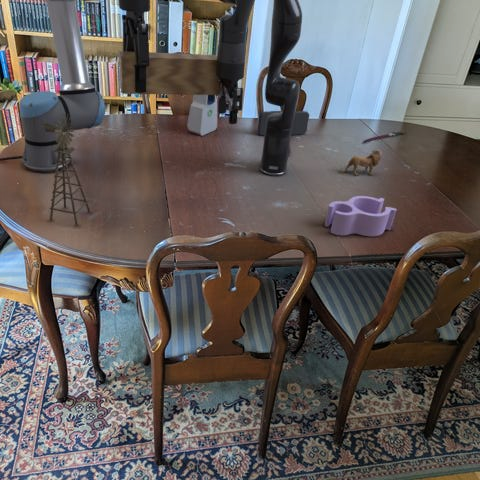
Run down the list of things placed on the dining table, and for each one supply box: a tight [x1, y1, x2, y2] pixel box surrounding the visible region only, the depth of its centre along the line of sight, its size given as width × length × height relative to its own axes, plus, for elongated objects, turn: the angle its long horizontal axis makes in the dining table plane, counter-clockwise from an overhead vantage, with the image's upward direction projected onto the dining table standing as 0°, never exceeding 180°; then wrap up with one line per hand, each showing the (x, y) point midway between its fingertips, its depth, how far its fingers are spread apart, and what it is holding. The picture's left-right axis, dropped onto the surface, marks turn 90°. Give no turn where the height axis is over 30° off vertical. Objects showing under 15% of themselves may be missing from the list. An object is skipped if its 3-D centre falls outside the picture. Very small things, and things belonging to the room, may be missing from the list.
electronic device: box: [186, 95, 218, 137], centre depth 192 cm, size 12×8×30 cm, turn 148°
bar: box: [118, 50, 220, 96], centre depth 127 cm, size 26×6×9 cm, turn 108°
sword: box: [363, 131, 407, 144], centre depth 214 cm, size 31×3×1 cm, turn 126°
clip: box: [324, 195, 398, 237], centre depth 141 cm, size 20×12×7 cm, turn 109°
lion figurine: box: [343, 149, 383, 176], centre depth 175 cm, size 15×5×9 cm, turn 110°
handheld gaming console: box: [257, 110, 310, 136], centre depth 203 cm, size 23×3×10 cm, turn 108°
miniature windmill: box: [44, 113, 92, 227], centre depth 124 cm, size 9×8×30 cm
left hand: (136, 87), depth 126 cm, fingers closed on bar, 7 cm apart
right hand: (227, 118), depth 132 cm, fingers open, 8 cm apart
